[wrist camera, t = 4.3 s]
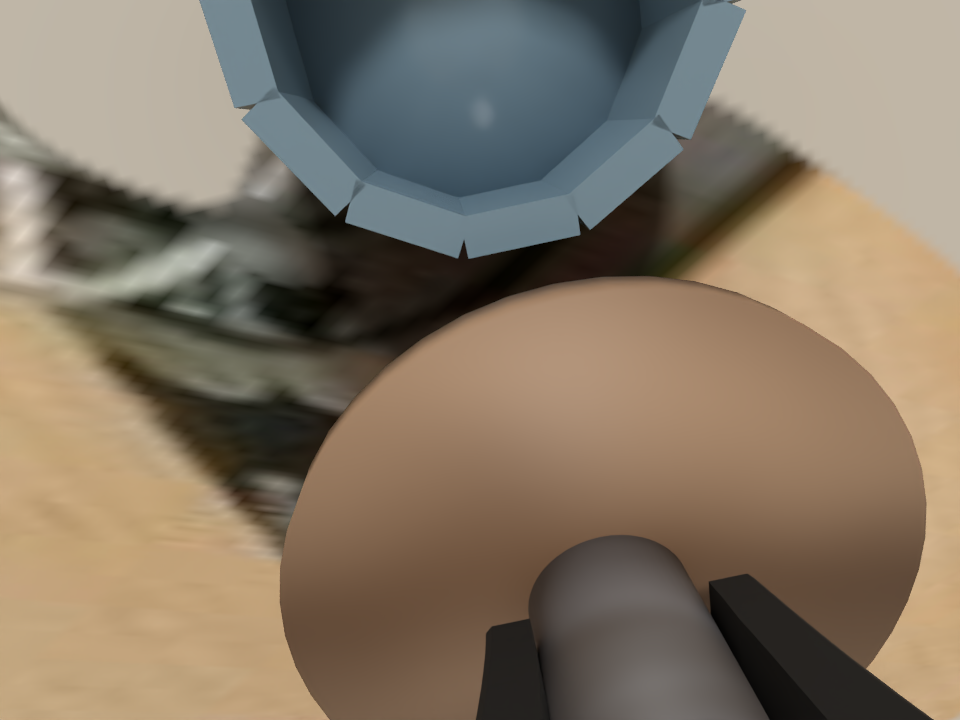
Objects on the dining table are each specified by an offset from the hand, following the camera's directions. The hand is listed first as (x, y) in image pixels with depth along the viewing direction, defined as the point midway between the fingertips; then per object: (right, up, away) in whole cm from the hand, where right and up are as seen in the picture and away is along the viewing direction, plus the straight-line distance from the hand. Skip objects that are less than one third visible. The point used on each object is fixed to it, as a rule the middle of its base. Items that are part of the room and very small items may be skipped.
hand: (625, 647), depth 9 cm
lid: (0, +1, +2) cm, 2 cm away
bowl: (-3, +12, +4) cm, 13 cm away
